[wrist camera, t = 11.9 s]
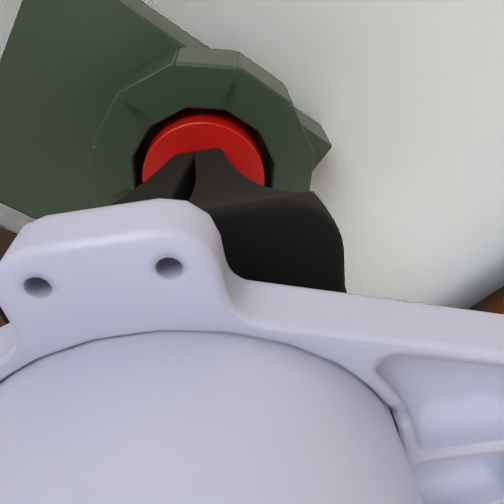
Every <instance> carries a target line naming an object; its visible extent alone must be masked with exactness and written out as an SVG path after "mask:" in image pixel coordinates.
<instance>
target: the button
mask: <svg viewBox="0 0 504 504" xmlns="http://www.w3.org/2000/svg"><path fill="white" fill-rule="evenodd" d="M218 147H219V148H220V149H222V150H223V152H224V155H225V157H226V158H227V159H228V161H229V162H230V163H231V164H232V165H233V166H234V167H235V168H236V169H237V170H238V171H239V172H240V173H241V174H242V175H244V176H245V177H246V178H248V179H250V180H252V181H253V182H255V183H258V184H260V185H263V186H264V185H265V174H264V167H263V162H262V157H261V151H260V146H259V142H258V138H257V136H256V133H255V131H254V129H253V128H252V127H251V126H249V125H248V124H246V123H244V122H243V121H241V120H240V119H238V118H237V117H235V116H234V115H232V114H230V113H229V112H227V111H226V110H214V109H196V108H185V109H183V110H182V111H180V112H178V113H176V114H174V115H172V116H170V117H168V118H166V119H164V120H162V121H160V122H159V123H158V125H157V126H156V128H155V130H154V132H153V136H152V139H151V142H150V145H149V148H148V151H147V155H146V158H145V161H144V164H143V170H142V180H143V182H145V181H146V180H147V179H148V178H150V177H151V176H152V175H153V174H154V173H155V172H156V171H158V170H159V169H160V168H161V167H162V166H163V165H164V164H165V163H166V162H167V161H168V160H170V159H171V158H172V157H173V156H174V155H176V154H179V153H185V152H192V151H198V150H205V149H211V148H218Z"/></svg>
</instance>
